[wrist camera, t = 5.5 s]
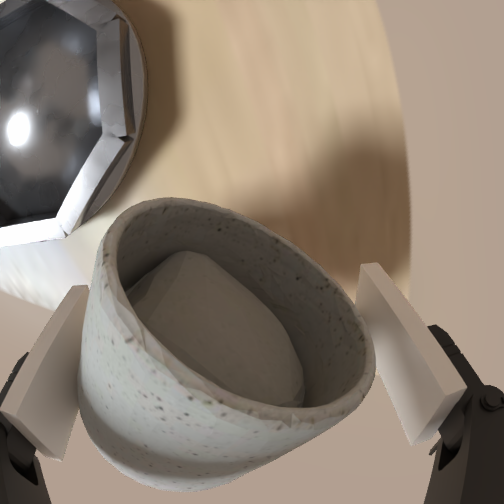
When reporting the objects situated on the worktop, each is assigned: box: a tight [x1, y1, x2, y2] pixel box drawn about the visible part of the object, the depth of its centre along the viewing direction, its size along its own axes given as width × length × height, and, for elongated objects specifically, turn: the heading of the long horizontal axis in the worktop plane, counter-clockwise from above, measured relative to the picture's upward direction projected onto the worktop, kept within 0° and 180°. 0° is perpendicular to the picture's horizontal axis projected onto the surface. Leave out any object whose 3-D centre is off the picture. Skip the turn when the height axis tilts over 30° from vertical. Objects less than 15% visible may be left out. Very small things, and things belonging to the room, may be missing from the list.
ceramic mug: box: [77, 197, 376, 492], centre depth 9 cm, size 11×8×8 cm
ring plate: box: [0, 0, 148, 247], centre depth 12 cm, size 17×17×2 cm
